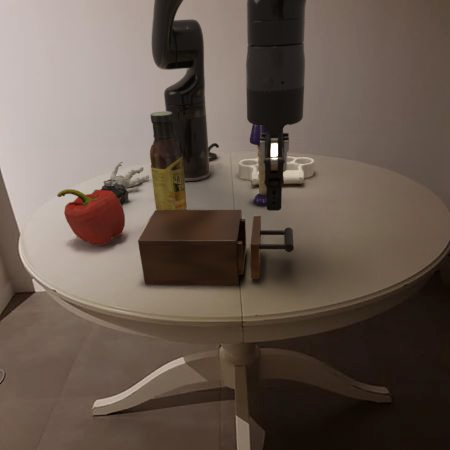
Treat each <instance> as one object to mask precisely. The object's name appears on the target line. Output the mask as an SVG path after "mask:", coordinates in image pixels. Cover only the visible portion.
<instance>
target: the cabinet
mask: <svg viewBox="0 0 450 450" xmlns="http://www.w3.org/2000/svg"><path fill="white" fill-rule="evenodd" d="M242 216H243V211H242V209H186V210H156V209H155V210H154V211H153V213H152V215H151V216H150V218H149V220H148V222H147V224H146V225H145V227H144V229H143V230H142V232H141V234H140V236H139V238H138V240H137V243H138V250H139V257H140V262H141V268H142V274H143V281H144V285H153V286H155V285H157V286H158V285H159V286H160V285H163V286H164V285H168V286H169V285H171V286H239V280H240V274H238V262H237V239H238V233H239V227H240V220H241V219H243V217H242Z"/></svg>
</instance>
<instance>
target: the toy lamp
mask: <svg viewBox="0 0 450 450" xmlns="http://www.w3.org/2000/svg"><path fill="white" fill-rule="evenodd" d="M251 125H252V126H251V131H250V136H249V143H250V144H251V145H253V146H257V158H258V164H259V167H258V171H259V175H258V177H259V184H258V186H259V189H258V192H259V193H256V195H255V196H254V198H253V204H254V205H256V206H261V207H264V206H265V207H266V186H265V184H264V180H265V172H263V171H262V152H261V151H260V138H261V134H262V133H266V128H265V126H262V125H260V126H257V125H254V124H251Z"/></svg>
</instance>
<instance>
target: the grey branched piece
mask: <svg viewBox="0 0 450 450" xmlns="http://www.w3.org/2000/svg"><path fill="white" fill-rule="evenodd" d="M123 163H124V162H123V161H120V162H118V163H117V164H116V166H115V167H114V169H113V171H112V172H111V175H110V177H109V178H108V179H107V180H104V181H103V185H104V184H106V183H107V184H110V185H111V186H112V185H115V184H120V185H123V186H124V187H125V188H126V190H127V191H128V193H131V192H134V191H138V190H140V186H136V185H138V184H142V182H144V181H147V180H149V179H150V176H149V175H148V174H147V175H146V176H143V177H142V178H141V177H136V178H134V179H132V178H133V176H134V175H136V174H140V173H142V172H143V171H144V166H141V167H140V168H138V169H136V170H135V169H131V170H130V171H128V172H127V173H126V174H125V176H123V175H117V173H118V171H119V168H120V167H122V166H123V165H122V164H123ZM133 186H134V187H133Z"/></svg>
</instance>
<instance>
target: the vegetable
mask: <svg viewBox="0 0 450 450" xmlns="http://www.w3.org/2000/svg"><path fill="white" fill-rule="evenodd" d="M96 190H97V191H95V192H94V191H93V192H94V193H93V192H92V193H93V194H92V193H87V194H85V193H83V192H81V191H79V190H76V189H70V188H67V189H63V190H61V191H59V192H58V193H57V195H56V196H57V197H58V198H61V197H65V196H66V195H73V196H75V197H76V198H75V199H74V200H73V201H70V202H68V203H67V204H66V205H65V206H64V212H63V214H64V218H65V220H66V222H67V224H68V226H69V228H70V229H71V231H72V232H73V234H75V236H76V237H77V238H79V239H80V240H82V241H83V242H87V243H90V244H91V245H92V246H102V245H103V246H104V245H107V244H109V243H110V242H111V241H112V240H113V239H114V238H118V237H119V236H121V235H122V234H123V231H124V230H125V227H126V216H125V211H124V208H123V206H122V203H121V200H119V199H118V198H117V196H116V195H115V194H114V193H113V192H112V191H108V190H100V189H96Z"/></svg>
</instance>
